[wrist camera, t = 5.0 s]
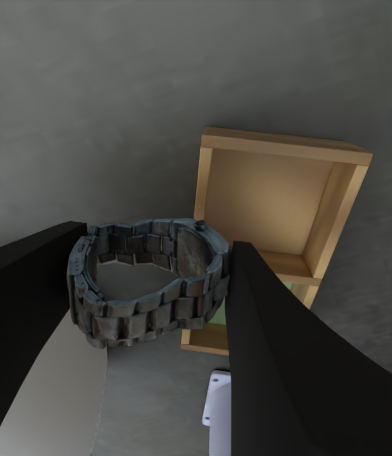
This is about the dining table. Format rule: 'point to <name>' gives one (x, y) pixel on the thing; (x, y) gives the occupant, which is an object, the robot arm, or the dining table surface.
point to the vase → (58, 398)
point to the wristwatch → (156, 302)
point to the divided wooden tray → (275, 207)
